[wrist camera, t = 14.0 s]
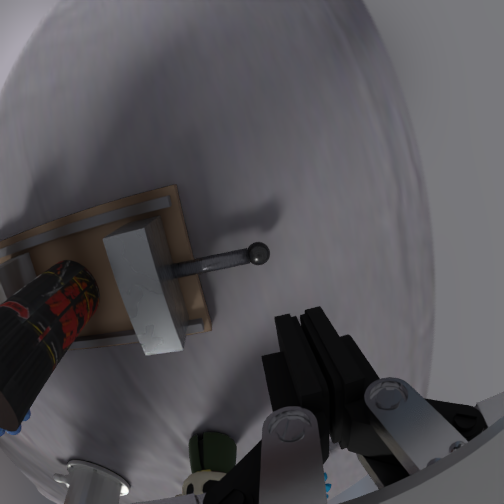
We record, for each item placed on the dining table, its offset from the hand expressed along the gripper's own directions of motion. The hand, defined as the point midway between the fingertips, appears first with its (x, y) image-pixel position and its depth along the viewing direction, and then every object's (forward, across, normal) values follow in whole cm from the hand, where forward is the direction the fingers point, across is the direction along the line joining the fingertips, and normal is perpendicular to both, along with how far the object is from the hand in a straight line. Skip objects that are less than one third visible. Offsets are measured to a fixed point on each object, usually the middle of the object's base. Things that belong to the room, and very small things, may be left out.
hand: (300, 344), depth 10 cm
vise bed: (+15, +16, +1) cm, 22 cm away
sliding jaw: (+14, +5, +1) cm, 14 cm away
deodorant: (+14, +18, +1) cm, 22 cm away
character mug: (+15, +10, +26) cm, 31 cm away
